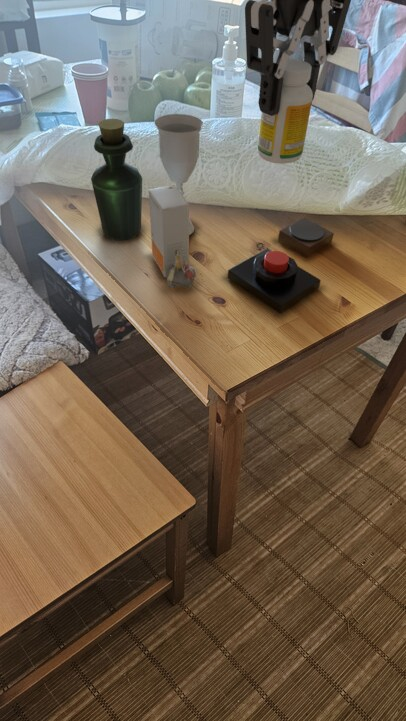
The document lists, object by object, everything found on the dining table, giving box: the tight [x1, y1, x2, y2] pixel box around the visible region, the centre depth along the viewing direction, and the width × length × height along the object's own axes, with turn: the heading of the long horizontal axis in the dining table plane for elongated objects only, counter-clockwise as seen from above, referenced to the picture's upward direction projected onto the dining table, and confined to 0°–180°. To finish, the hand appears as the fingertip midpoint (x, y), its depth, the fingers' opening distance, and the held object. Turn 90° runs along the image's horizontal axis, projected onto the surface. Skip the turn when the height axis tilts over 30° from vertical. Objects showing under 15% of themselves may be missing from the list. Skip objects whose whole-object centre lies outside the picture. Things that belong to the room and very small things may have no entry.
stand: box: [277, 217, 335, 259], centre depth 86 cm, size 6×6×2 cm
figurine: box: [166, 250, 197, 289], centre depth 76 cm, size 5×4×6 cm
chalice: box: [154, 113, 204, 236], centre depth 82 cm, size 7×7×18 cm
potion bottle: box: [90, 118, 143, 241], centre depth 81 cm, size 8×8×18 cm
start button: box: [264, 250, 290, 274], centre depth 76 cm, size 4×4×2 cm
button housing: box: [227, 247, 322, 314], centre depth 77 cm, size 11×9×4 cm
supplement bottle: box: [256, 58, 314, 165], centre depth 57 cm, size 5×5×10 cm
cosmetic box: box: [148, 184, 190, 278], centre depth 77 cm, size 6×4×12 cm
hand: (286, 105), depth 56 cm, fingers closed on supplement bottle, 5 cm apart
